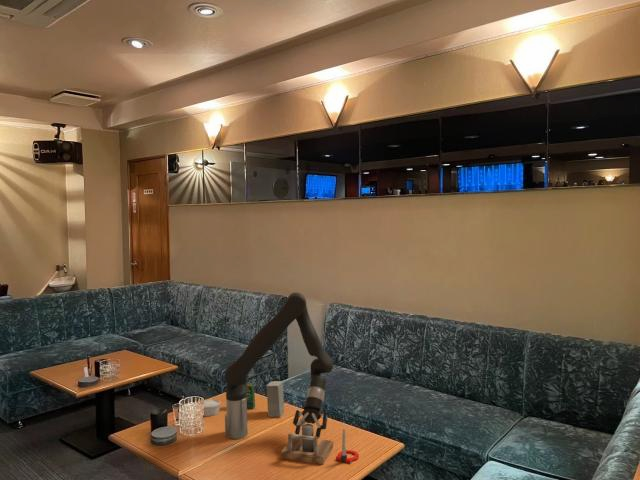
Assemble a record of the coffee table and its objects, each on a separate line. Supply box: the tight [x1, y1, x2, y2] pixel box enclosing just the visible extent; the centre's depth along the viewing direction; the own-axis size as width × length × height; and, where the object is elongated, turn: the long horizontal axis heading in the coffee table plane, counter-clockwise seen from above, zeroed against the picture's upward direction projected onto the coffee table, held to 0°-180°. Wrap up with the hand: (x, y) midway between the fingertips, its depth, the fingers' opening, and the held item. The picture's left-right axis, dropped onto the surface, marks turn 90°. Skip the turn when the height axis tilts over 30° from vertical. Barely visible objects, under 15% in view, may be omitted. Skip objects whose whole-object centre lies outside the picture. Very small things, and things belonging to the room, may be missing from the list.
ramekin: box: [203, 398, 221, 417], centre depth 236 cm, size 11×11×5 cm
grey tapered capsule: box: [301, 423, 315, 453], centre depth 192 cm, size 5×5×11 cm
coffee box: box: [247, 382, 256, 410], centre depth 242 cm, size 8×3×13 cm, turn 72°
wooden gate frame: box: [281, 433, 334, 465], centre depth 191 cm, size 18×14×10 cm
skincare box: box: [265, 380, 285, 418], centre depth 233 cm, size 8×7×16 cm
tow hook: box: [335, 428, 360, 464], centre depth 188 cm, size 8×13×9 cm
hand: (306, 437), depth 191 cm, fingers open, 8 cm apart
